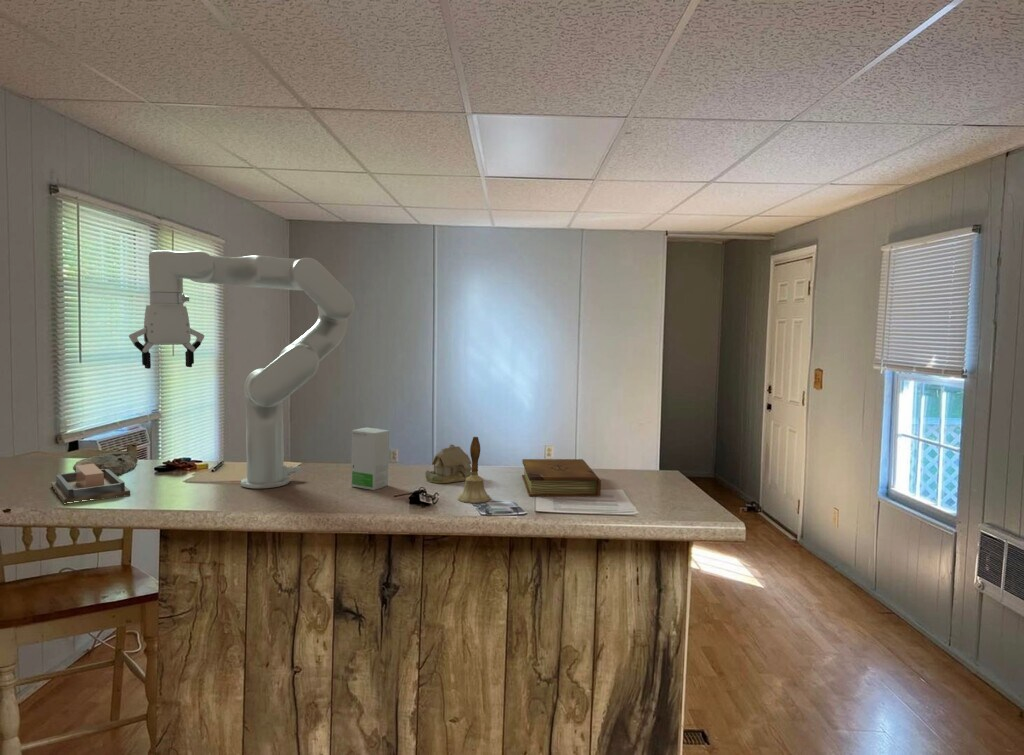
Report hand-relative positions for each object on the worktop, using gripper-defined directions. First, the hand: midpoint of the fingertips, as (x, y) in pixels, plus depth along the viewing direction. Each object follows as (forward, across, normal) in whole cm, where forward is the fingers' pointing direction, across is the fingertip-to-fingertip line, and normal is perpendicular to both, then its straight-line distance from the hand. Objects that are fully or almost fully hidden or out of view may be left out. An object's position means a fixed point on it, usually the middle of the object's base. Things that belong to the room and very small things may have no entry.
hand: (168, 367), depth 169 cm
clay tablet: (+33, +7, -40) cm, 52 cm away
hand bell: (+33, -57, +54) cm, 85 cm away
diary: (+33, -84, +58) cm, 107 cm away
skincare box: (+32, -43, +26) cm, 60 cm away
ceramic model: (+33, -65, +33) cm, 80 cm away
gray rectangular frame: (+32, +16, -14) cm, 39 cm away
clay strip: (+31, +16, -14) cm, 38 cm away
